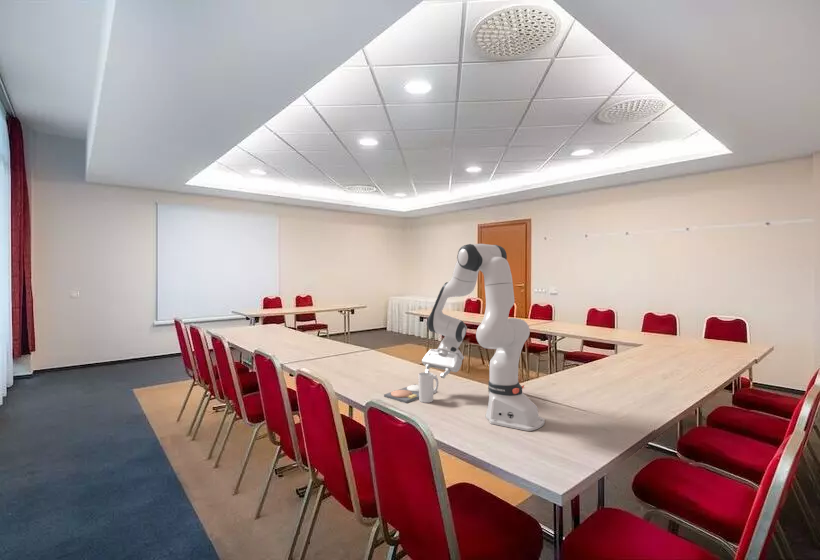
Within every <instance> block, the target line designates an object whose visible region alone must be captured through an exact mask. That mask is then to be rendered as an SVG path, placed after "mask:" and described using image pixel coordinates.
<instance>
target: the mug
mask: <svg viewBox="0 0 820 560" xmlns="http://www.w3.org/2000/svg"><path fill="white" fill-rule="evenodd" d="M429 372H430V371H429ZM429 372H425V371H423V372H419V373H418V374H417V375H418V376H417V377H418V385H419V399H418V400H419V403H426V404H428V403H431V402H433V401H434V394H435V393H437V392H438V387H439V379H438V376H437V374H434V372H430V373H429ZM434 381H435V387H434ZM433 389H434V390H433Z"/></svg>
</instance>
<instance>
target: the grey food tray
mask: <svg viewBox="0 0 820 560" xmlns="http://www.w3.org/2000/svg"><path fill="white" fill-rule="evenodd" d="M434 389H435V388H433V390H434ZM383 397H385V398H388V399H390V400H395V401H398V402H401V403H405V404H408V403H411V402H412V401H413V402H414V401H415V400H419V384H417V383H415V384H410V385H408V386H406V387H403V388H400V389H396V390H393V391H391V392H388V393H385V394H384V393H383Z"/></svg>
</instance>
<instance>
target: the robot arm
mask: <svg viewBox="0 0 820 560" xmlns="http://www.w3.org/2000/svg"><path fill="white" fill-rule="evenodd" d="M507 254H508V253H507V252H506V250H505V248H504V247H503V246H501V245H498V244H488V243H487V244H486V243H474V244H471V243H469V244H465V245H462V246H461V247H460V248H459V249H458V251H457V257H456V259H457V260H456V263H455V265H454V267H453V272H452V276H451V279H450V280H449V281H447V282H445V283H444V284H443V285H442V287H441V288H440V290H439V293H438V296H436V300H435V302H434V305H433V308H432V310H431V312H430V313H429V315H428V317H427V318H428V319H427V320H426V327H427V329H428V331H430V332H432V333H434V334H438V335H441V336H443V337H444V338H443V339H442V340H441V342H440V343H439V345H438V347H437V348H431V349H429V350H428V351H427V352H426V353H425V354H424V356H423V358H422V359H421V363H422V364H423V366H425V370H424V372H429V373H431V371H430V369H431V368H434V369H437V370H444V372H441V373H440V375H439V377H440V378H441V379H445V378H446V376H448V375H449V374H450V373H451V372H453V373H457V372H459V371H460V369H461V367H462V364H463V360H464V357H465V356H464V355H463V353H462V352H461V351H460V349H459V348H460V345H462V343H463V341H464V338H465V336H466V335H467V329H468V327H467V325H466V324H465V322H464V321H462V320H461V319H459V318H456V317H453V316H451V315H447V314H445V313H444V312H443V310H444V307H445V304H446V303H447V300H448V298H453V297H454V298H455V297H456V298H457V297H464V296H468V295H470V294H471V293H473V292H474V289H476V284H477V281H478V276H479V273H480V272H481V273H482V275H483V282H484V283H483V284H484V293H485V294H484V295H485V311H484V315H483V318H482V320H481V323H480V324H479V325H478V327H477V329H476V332H475V339H476V341H477V343H478V344H479V346H480V347H482V348H483V349H490V350H495V352H494V354H493V356H492V357H491V358H490V361H489V370H488V371H489V380H488V394H489V395H488V404H487V409H486V411H485V418H486V419H487V420H488V422H489V423H490V424H491V425H495V426H501V427H505V428H511V429H517V430H521V431H524V432H525V431H526V432H531V431H535V430H538V429H540V428H542V427H543V426H544V425H545V421H546V420H545V418H544V417H542V416H540V415H539V409H538V406H537V405H536V404H535V403H534V402H533V401H532V400H531V399H530V398H529V397H528V396H527V395H525V394H524V393H523V389H525V385H521V384H520V382H519V362H520V357H521V353H522V350H523V347H524V345H525V343H526V341H527V340H528V339H529V337H530V333H531V331H530V326H529V324H528V323H527V322H526V321H525V320H524V319H521V318H517V317H510V318H509V314H510V310H511V309H512V308H513V306H514V305H515V301H516V300H515V293H514V291H515V290H514V284H513V282H514V281H513V275H512V272H511V266H510V263H509V262H508V260H507V259H508V258H507V257H508V256H507Z"/></svg>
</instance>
